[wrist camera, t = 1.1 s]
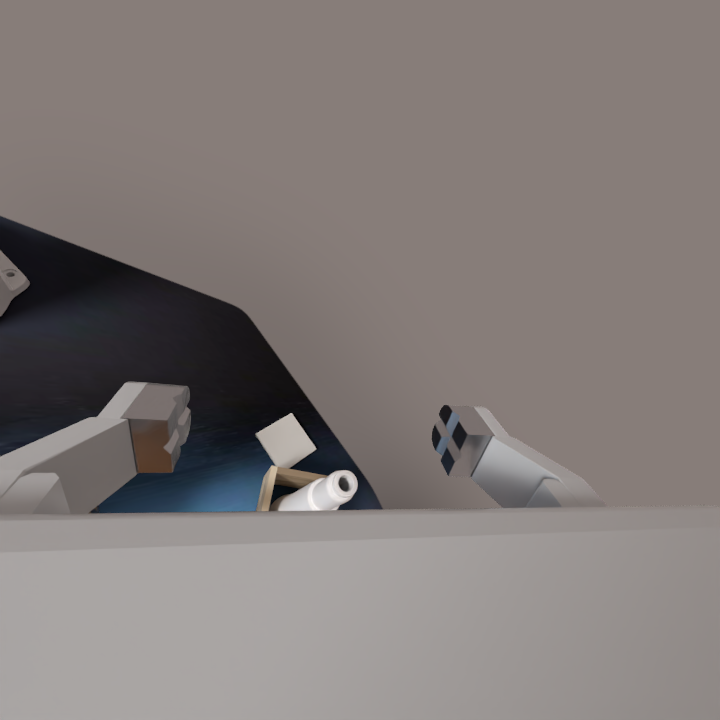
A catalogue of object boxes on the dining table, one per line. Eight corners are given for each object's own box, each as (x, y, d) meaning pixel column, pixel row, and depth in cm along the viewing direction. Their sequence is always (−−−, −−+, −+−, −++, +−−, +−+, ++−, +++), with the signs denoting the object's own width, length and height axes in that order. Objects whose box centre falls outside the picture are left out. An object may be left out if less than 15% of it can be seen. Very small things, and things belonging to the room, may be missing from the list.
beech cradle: (317, 550, 44) (331, 547, 40) (248, 542, 42) (255, 538, 37) (325, 487, 49) (338, 477, 44) (263, 476, 46) (271, 465, 42)
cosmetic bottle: (286, 485, 47) (338, 435, 30) (318, 512, 47) (388, 477, 30) (256, 523, 43) (297, 489, 26) (291, 553, 43) (355, 538, 26)
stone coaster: (255, 434, 49) (256, 433, 48) (290, 414, 53) (291, 412, 52) (281, 474, 48) (282, 473, 47) (315, 450, 51) (316, 448, 51)
